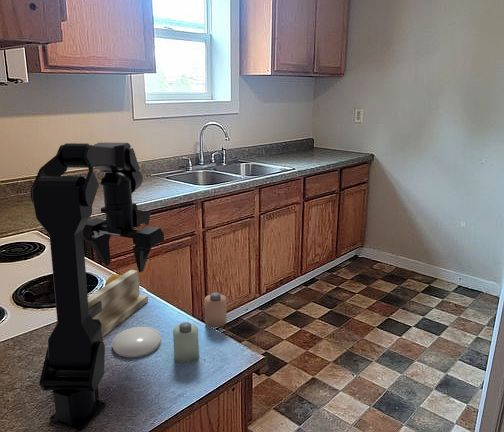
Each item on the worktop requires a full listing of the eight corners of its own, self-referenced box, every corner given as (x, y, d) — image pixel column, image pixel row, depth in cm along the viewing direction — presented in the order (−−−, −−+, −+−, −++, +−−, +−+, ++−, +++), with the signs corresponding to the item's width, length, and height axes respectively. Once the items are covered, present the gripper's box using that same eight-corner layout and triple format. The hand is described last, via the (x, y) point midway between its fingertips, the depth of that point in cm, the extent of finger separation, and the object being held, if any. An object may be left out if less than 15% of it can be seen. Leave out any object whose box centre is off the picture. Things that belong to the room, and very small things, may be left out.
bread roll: (108, 283, 121) (107, 270, 120) (141, 281, 122) (140, 268, 121) (102, 296, 114) (100, 282, 112) (137, 295, 115) (136, 281, 113)
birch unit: (88, 347, 91) (84, 313, 89) (69, 342, 93) (65, 309, 91) (148, 301, 111) (146, 272, 109) (131, 297, 113) (128, 269, 110)
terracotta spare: (221, 329, 98) (220, 301, 96) (201, 325, 100) (200, 297, 98) (229, 318, 103) (229, 292, 101) (210, 315, 104) (210, 288, 103)
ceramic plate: (143, 361, 87) (143, 357, 86) (102, 351, 90) (102, 347, 90) (169, 335, 96) (169, 331, 95) (131, 327, 99) (131, 323, 99)
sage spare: (191, 365, 86) (190, 334, 84) (169, 359, 87) (167, 329, 85) (203, 351, 90) (202, 321, 88) (181, 346, 92) (180, 317, 90)
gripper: (176, 197, 97) (179, 261, 101) (108, 189, 103) (114, 250, 108) (146, 210, 87) (151, 281, 91) (73, 200, 94) (81, 266, 98)
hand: (124, 268), depth 98 cm, fingers open, 9 cm apart
